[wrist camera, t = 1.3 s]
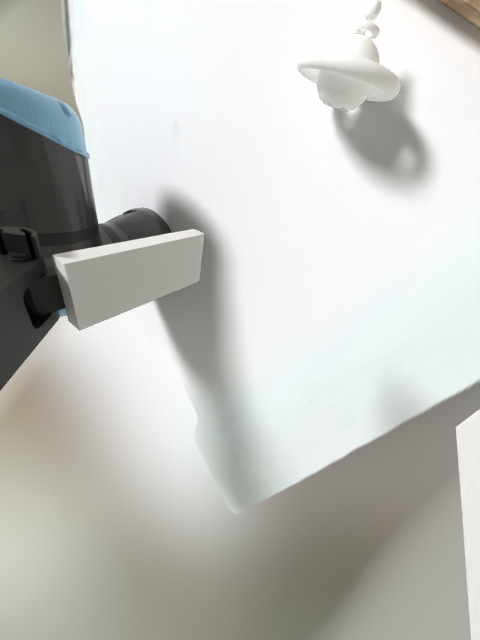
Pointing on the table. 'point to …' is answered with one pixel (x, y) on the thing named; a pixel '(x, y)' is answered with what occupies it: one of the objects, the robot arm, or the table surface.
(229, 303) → the table surface
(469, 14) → the divided wooden tray
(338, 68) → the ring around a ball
